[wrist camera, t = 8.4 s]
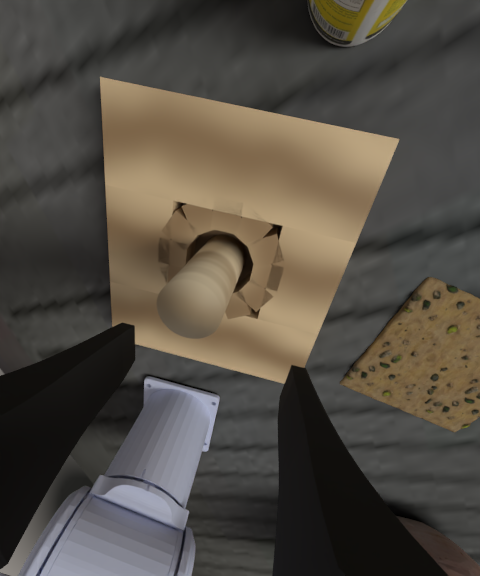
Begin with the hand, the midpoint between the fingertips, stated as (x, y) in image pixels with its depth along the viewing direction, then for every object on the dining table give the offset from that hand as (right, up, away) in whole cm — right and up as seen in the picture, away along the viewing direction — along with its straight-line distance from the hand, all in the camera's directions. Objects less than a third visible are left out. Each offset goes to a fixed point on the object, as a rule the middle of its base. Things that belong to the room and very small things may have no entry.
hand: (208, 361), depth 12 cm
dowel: (0, +6, +8) cm, 10 cm away
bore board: (0, +6, +8) cm, 10 cm away
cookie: (+18, -3, +10) cm, 21 cm away
